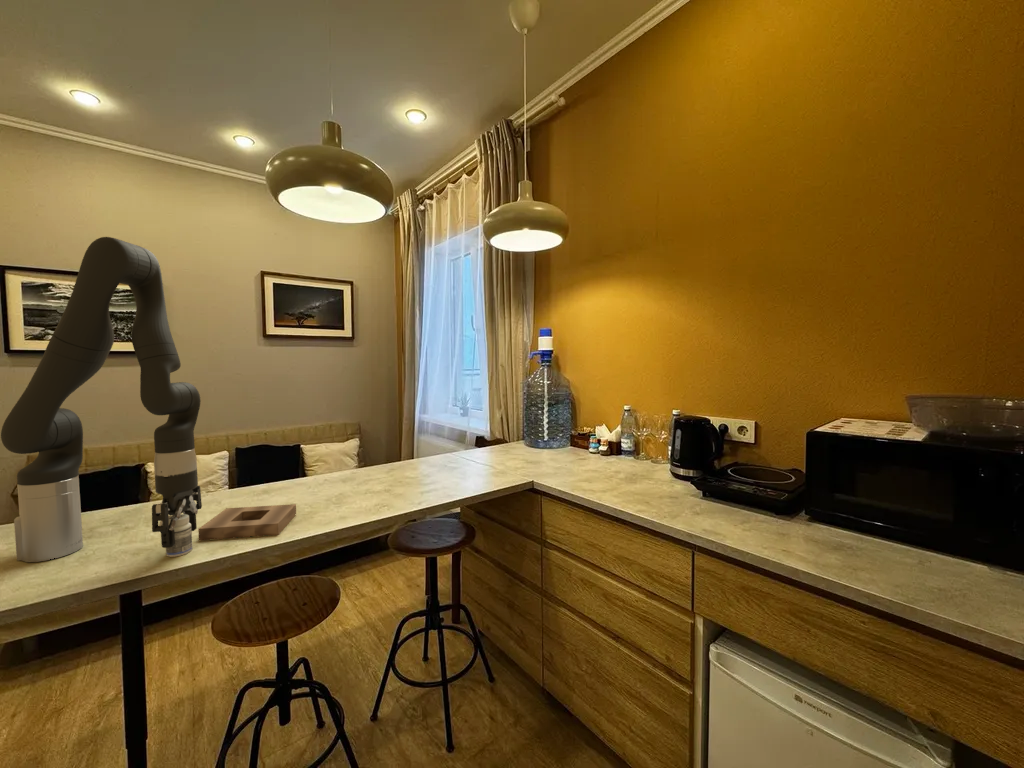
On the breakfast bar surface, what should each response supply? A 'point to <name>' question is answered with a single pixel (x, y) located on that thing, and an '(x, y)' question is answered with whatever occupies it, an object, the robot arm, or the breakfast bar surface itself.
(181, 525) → the pill bottle
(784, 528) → the breakfast bar surface
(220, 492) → the breakfast bar surface
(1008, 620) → the breakfast bar surface
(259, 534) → the socket block
